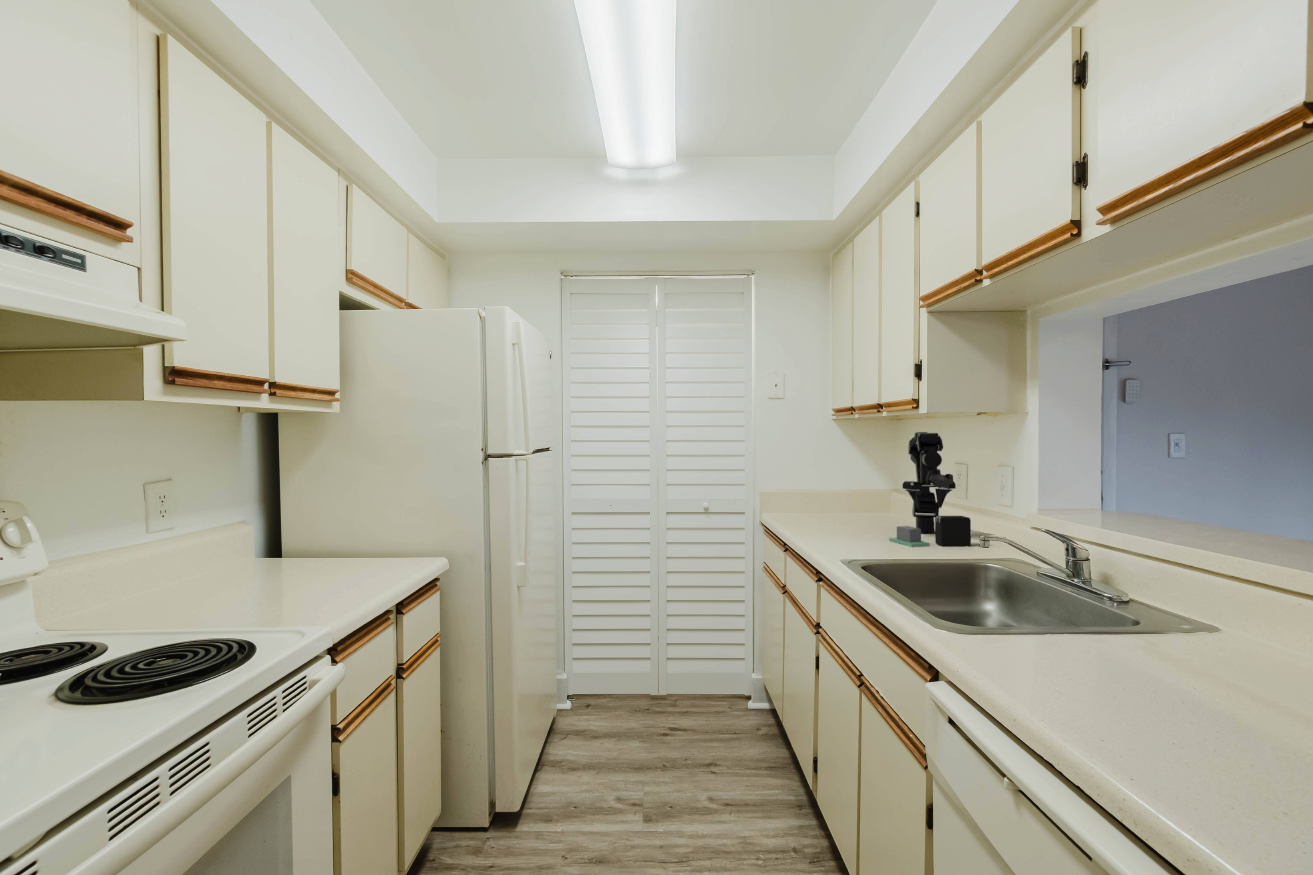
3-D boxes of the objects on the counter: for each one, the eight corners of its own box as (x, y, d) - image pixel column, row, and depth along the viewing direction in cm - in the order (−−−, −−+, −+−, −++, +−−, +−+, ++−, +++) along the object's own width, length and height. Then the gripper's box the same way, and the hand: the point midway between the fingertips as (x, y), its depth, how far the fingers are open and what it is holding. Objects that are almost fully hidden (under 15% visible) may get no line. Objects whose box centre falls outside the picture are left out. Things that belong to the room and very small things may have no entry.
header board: (889, 540, 195) (889, 531, 195) (906, 539, 196) (906, 530, 196) (911, 546, 183) (911, 536, 183) (929, 545, 184) (929, 535, 185)
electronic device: (971, 546, 183) (970, 517, 183) (941, 546, 183) (941, 517, 183) (964, 544, 187) (963, 515, 187) (935, 544, 188) (934, 515, 188)
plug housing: (896, 538, 193) (896, 526, 193) (907, 538, 194) (907, 525, 194) (909, 542, 186) (909, 529, 186) (921, 541, 187) (920, 528, 187)
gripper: (921, 467, 191) (922, 511, 191) (966, 467, 195) (967, 509, 195) (901, 466, 202) (901, 507, 202) (944, 465, 206) (944, 506, 206)
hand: (929, 508), depth 201 cm, fingers open, 9 cm apart
